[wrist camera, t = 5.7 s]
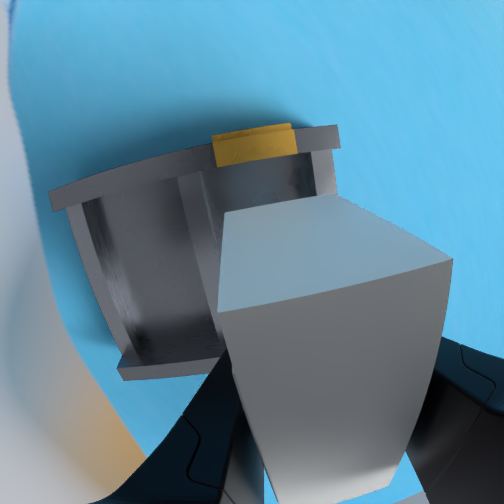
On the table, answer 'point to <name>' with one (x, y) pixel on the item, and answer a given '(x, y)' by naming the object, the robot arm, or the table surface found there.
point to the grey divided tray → (182, 236)
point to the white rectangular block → (329, 340)
